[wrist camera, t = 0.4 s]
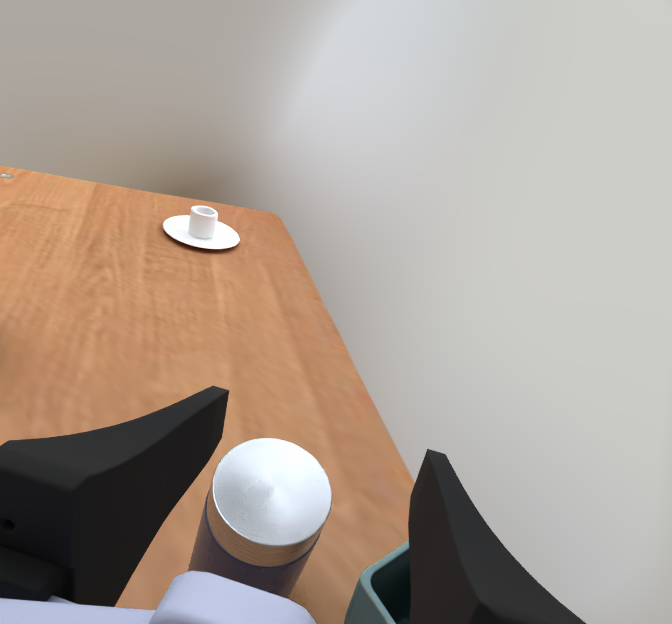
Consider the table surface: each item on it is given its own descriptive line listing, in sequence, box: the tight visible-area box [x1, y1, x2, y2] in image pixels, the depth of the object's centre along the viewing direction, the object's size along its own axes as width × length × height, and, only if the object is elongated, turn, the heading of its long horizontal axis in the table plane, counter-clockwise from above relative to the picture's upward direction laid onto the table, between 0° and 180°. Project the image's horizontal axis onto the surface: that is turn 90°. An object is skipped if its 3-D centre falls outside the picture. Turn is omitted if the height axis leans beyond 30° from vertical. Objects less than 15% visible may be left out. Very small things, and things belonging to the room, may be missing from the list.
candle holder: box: [163, 206, 239, 249], centre depth 70 cm, size 12×12×4 cm
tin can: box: [188, 438, 332, 599], centre depth 26 cm, size 7×7×11 cm
